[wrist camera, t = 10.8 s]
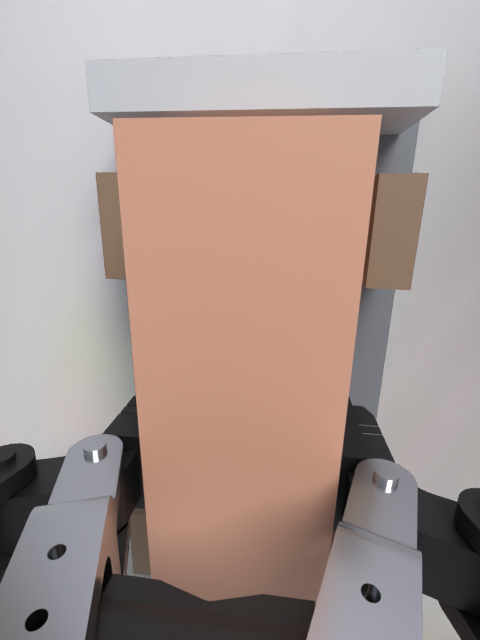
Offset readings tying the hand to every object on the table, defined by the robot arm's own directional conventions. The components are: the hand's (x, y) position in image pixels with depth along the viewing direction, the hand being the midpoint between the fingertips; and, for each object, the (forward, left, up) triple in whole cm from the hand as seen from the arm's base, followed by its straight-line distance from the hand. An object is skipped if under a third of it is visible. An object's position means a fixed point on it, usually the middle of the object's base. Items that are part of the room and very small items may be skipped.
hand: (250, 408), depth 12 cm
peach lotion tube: (0, 0, -2) cm, 2 cm away
